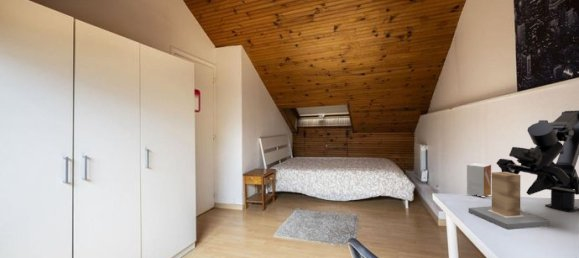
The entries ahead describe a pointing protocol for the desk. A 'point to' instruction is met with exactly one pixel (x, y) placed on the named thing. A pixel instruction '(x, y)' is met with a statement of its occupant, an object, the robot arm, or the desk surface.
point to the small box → (479, 179)
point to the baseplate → (509, 218)
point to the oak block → (506, 193)
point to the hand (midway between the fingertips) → (513, 189)
